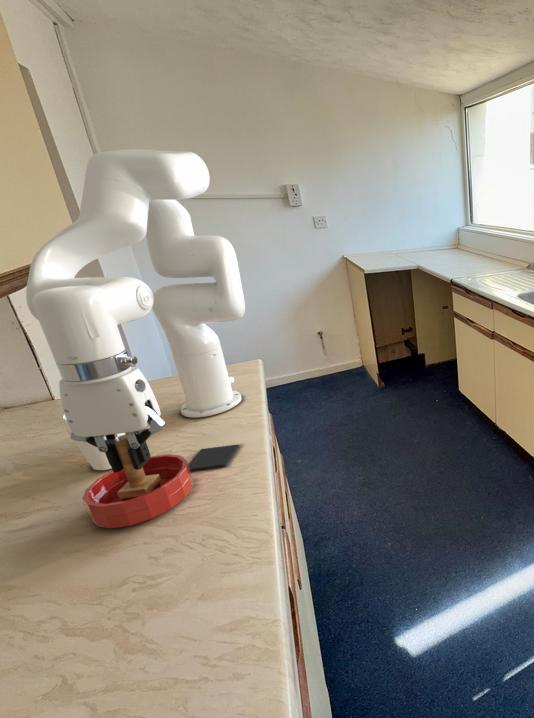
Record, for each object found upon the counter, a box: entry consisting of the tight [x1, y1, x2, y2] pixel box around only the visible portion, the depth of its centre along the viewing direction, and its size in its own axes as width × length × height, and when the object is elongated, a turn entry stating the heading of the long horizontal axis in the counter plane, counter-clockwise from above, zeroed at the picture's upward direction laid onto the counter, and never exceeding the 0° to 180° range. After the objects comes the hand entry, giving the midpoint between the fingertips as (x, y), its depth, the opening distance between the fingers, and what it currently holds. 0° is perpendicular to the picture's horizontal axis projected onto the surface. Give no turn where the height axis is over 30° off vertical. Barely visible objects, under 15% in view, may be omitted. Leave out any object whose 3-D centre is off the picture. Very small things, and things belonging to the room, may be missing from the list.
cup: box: [62, 413, 125, 471], centre depth 79 cm, size 9×9×12 cm
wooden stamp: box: [113, 435, 161, 501], centre depth 67 cm, size 4×4×12 cm
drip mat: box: [188, 444, 240, 472], centre depth 81 cm, size 7×7×1 cm
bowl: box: [82, 453, 194, 529], centre depth 69 cm, size 13×13×5 cm
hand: (132, 465), depth 67 cm, fingers closed on wooden stamp, 2 cm apart
